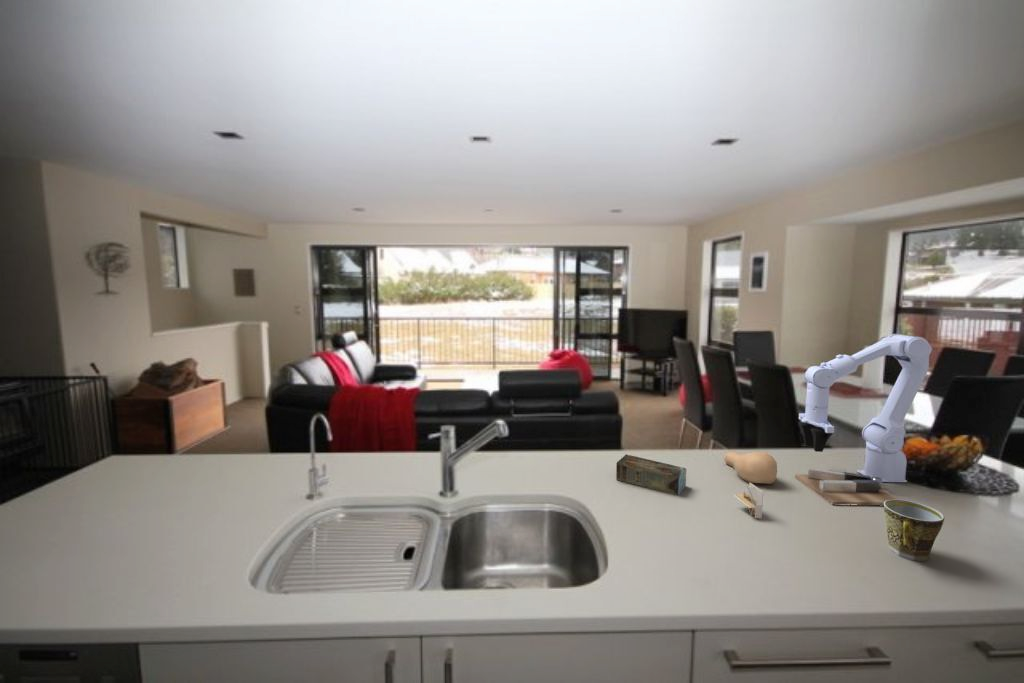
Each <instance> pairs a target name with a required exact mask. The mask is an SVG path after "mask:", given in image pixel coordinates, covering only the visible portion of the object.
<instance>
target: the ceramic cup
mask: <svg viewBox="0 0 1024 683" xmlns="http://www.w3.org/2000/svg"><path fill="white" fill-rule="evenodd" d="M883 511H884V512H883V513H884V520H885V524H886V532H887V538H888V539H887V540H888V547H889V550H890V551H892V550H893V551H894V552H895V553H894V552H893V551H892V552H893V553H894V554H896V555H897V554H898V555H899V557H901V558H904V559H907V560H909V561H913V562H927V561H928V559H929V557H930V555H931V553H932V552H931V551H932V548H933V546H934V543H935V541H936V538H937V537H938V535H939V534H940V532H941V530H942V527H943V524H944V522H945V516H944V514H943V513H941V511H939V510H937V509H935V508H933V507H931V506H928V505H925V504H922V503H919V502H915V501H910V500H905V499H901V500H895V499H894V500H887V501H885V502H884V506H883ZM898 555H897V556H898Z"/></svg>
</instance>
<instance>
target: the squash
mask: <svg viewBox="0 0 1024 683" xmlns="http://www.w3.org/2000/svg"><path fill="white" fill-rule="evenodd" d="M723 459H724V460H723V461H724V463H725V464H726V465H728V466H731V467H733V469H734V470H735V471H736V473H737V474H738V476H739V477H740V479H741V480H743V481H746V482H747V483H751V484H770V485H771V484H772V483H775V481H776V479H777V475H778V464H777V460H775V458H774V457H773V456H772V455H770V454H769V453H768V452H764V451H763V452H761V451H759V452H758V451H754V452H748V453H743V454H742V453H739V452H738V451H729V452H727V453H725V455H724V458H723Z"/></svg>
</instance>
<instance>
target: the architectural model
mask: <svg viewBox="0 0 1024 683" xmlns="http://www.w3.org/2000/svg"><path fill="white" fill-rule="evenodd" d="M748 483H749V482H748ZM746 486H747V489H748V494H747V493H746V491H743V494H742V493H741V494H734V497H735V498H736V499H738V500H739V501H740V502H741V503H743V504H744V505H745V506H747V509H748V511H749V514H750V515H751V516H754V519H755V518H759V519H762V518H763V505H764V491H763V490H761V489H760V488H759V487H757V486H756V485H754V483H749V484H748V485H746Z"/></svg>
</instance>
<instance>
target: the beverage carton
mask: <svg viewBox="0 0 1024 683" xmlns="http://www.w3.org/2000/svg"><path fill="white" fill-rule="evenodd" d="M615 469H616V474H615V476H616V478H615V480H616V481H620V482H624V483H628V484H632V485H636V486H639V487H643V488H646V489H647V488H648V489H652V490H655V491H660V492H663V493H667V494H671V493H672V495H676V496H680V494H681V493H682V491H683V490H684V488H685V487H686V486H687V485H686V483H687V468H686V467H682V466H677V465H674V464H669V463H664V462H661V461H656V460H653V459H649V458H648V459H647V458H644V457H641V456H640V457H639V456H636V455H631V454H630V455H629V454H625V455H624V456H623V457H621V458H620V459H619V460H618V461H617V462H616V468H615Z"/></svg>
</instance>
